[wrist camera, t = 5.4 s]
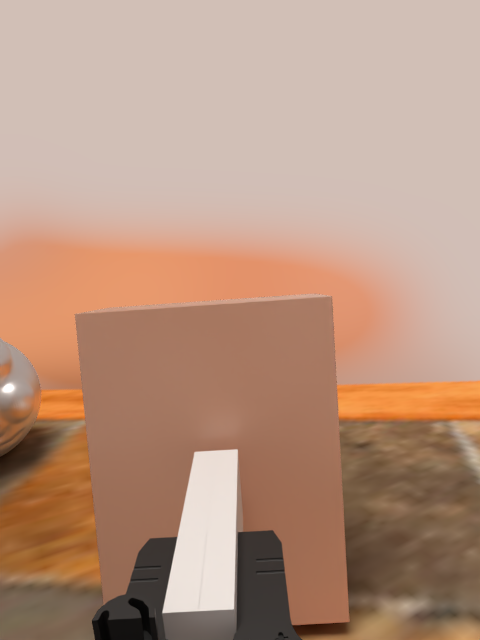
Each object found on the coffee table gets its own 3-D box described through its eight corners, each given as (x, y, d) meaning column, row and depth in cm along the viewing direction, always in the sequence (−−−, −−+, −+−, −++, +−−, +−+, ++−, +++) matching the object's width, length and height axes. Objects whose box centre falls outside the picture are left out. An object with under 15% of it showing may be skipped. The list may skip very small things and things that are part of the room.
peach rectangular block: (132, 569, 21) (108, 308, 20) (329, 557, 21) (314, 293, 20) (106, 636, 17) (75, 314, 16) (349, 622, 17) (331, 296, 16)
